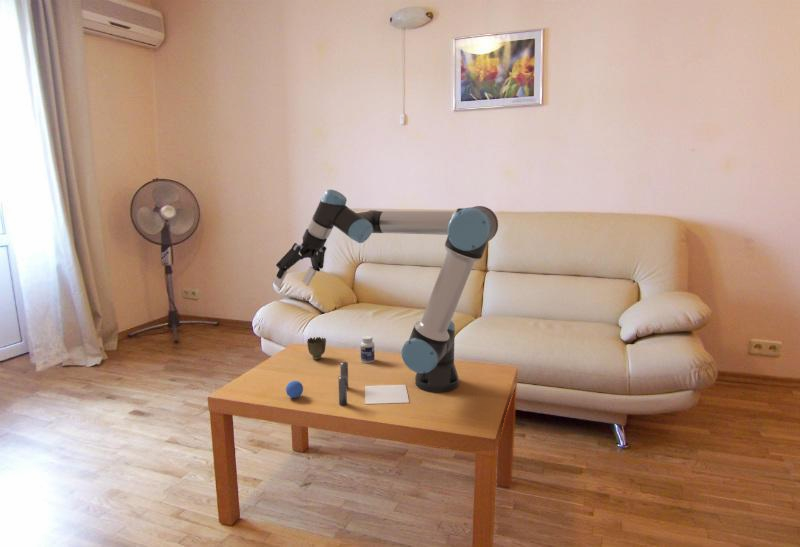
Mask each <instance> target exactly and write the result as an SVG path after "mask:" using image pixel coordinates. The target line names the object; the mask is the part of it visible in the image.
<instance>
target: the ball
mask: <svg viewBox="0 0 800 547" xmlns="http://www.w3.org/2000/svg"><path fill="white" fill-rule="evenodd" d="M285 392H286V394H287V396H288V397H289V398H292V399H296V398H297V399H298V398H299V397H300V396H301V395H302V394H303V392H304V386H303V384H302V383H301V382H300V381H298V380H292V381H290V382H288V383H287V385H286V387H285Z"/></svg>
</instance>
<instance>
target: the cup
mask: <svg viewBox="0 0 800 547" xmlns="http://www.w3.org/2000/svg"><path fill="white" fill-rule="evenodd" d="M321 337H322V336H321ZM321 337H320V336H319V337H318V336H316V337H314V336H313V338H312V337H309V338H307V340H306V342H307V349H308V353H309V354H310V355H311V356H312V359H313V360H315V361H318V360H321V359H322V357H323V355H324V353H325V351H326V345H327V338H326V337H322V338H321Z"/></svg>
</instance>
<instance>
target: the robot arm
mask: <svg viewBox="0 0 800 547" xmlns="http://www.w3.org/2000/svg"><path fill="white" fill-rule="evenodd" d="M347 202H348V201H347V197H346V196H345V195H344V194H343V193H341V192H339V191H337V190H335V189H327V190H325V192H324V194H323V196H322V197H321V199H320V200H319V203H318V205H317V206H316V210H315V211H314V214H313V215H312V217H311V220H310V222H309V224H308V226H307V228H306V230H305V231H304V233H303V235H302V242H301V244H298V243H297V242H295V243H293V245H292V247H291V248H290V249H289V250H288V251H287V252H286V254H284V256H282V257H281V258H280V260H279V261H278V262H277V263H276V264H275V266H276V267H277V269H279V270H278V272H277V274H276V277H275V279H274V281H273V285H274V286H276V287H277V288H281V287H282V284H283V283H284V281H285V279H286V276H287V274H288V270H289V269H290V268H291V267H293V266H294V265H296V263H298V262H299V261H300V260H303V259H307V258H309V259H310V263H311V265H312V266H309V268H308V269H307V271H306V274H305V275H304V277H303V279H302V282H303V283H304V284H305V286H310V284H311V281H312V280H313V277H314V276H315V275H316V272H318V273H319V272H320V271H321V270H322V269H323V268H324V261H325V255H326V254H325V253H326V251H327V247H326V246H325V244H326V242H327V240H328V238H329V236H330V234H331V233H332V230H333V228H334V227H335V228H336V229H338V230H339V231H341V232H342V233H343V234H345V235H346V236H348V237H349V238H350V239H351V240H353V241H355V243H358V244H363V243H364V242H366V241H367V240H369V238H370V237H371V235H372V234H400V235H401V234H404V235H405V234H406V235H407V234H408V235H439V236H442V235H443V236H444V235H445V236H447V237H446V240H445V243H444V248H445V250H446V254H445V258H444V260H443V263H442V266H441V268H440V271H439V273H438V276H437V278H436V281H435V284H434V286H433V289H432V292H431V294H430V297H429V300H428V301H427V305H426V308H425V309H424V313H423V315H422V318H421V320H419V321H416V322H415V324H414V326H413V328H412V330H411V333H410V335H409V338H408V340H407V341H405V342H404V344H403V346H402V348H401V354H400V355H401V359H402V360H403V362H404V365H405V366H406V367H407V369H409V370H410V371H412V372H414V373H415V378H414V383H415V386H416V387H417V388H419V390H423V391H426V392H431V393H445V392H446V391H447V392H450V390H451V391H453V389H454V390H456V389H457V388H458V387H459V385H460V384H459V382H460V378H459V375H458V371H457V368H456V364H455V338H456V336H455V334H456V333H455V332H456V328H455V327H456V326H455V322H454V321H453V320H452V318H453V317H454V314H455V311H456V310H457V306H458V304H459V302H460V299H461V296H462V294H463V291H464V289H465V286H466V284H467V281H468V279H469V276H470V274H471V271H472V268H474V267H473V266H474V263H476V262H477V261H479V260H482V259H483V255H484V253H485V250H486V249H487V248H486V247H487V245H488V243H489V241H491V240H492V239H493V238H494V237H495V236H496V234H497V232H498V228H499V220H498V217H497V215H496V214H495V212H494V211H493V210H492V209H490V207H487V206H482V205H475V206H472V207H465V208H464V207H462V208H459V207H458V208H456V210H453V211H452V210H451V211H450V210H449V211H436V210H434V211H430V210H429V211H428V210H427V211H425V210H423V211H422V210H421V211H418V210H417V211H414V210H413V211H412V210H410V211H409V210H403V211H401V210H399V211H397V210H389V211H388V210H372V209H370V210H368V211H362V212H356V211H354V210H352V209H350V208H349V207H348V206H347V205H346V204H347ZM455 388H456V389H455ZM447 392H446V393H447Z"/></svg>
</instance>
